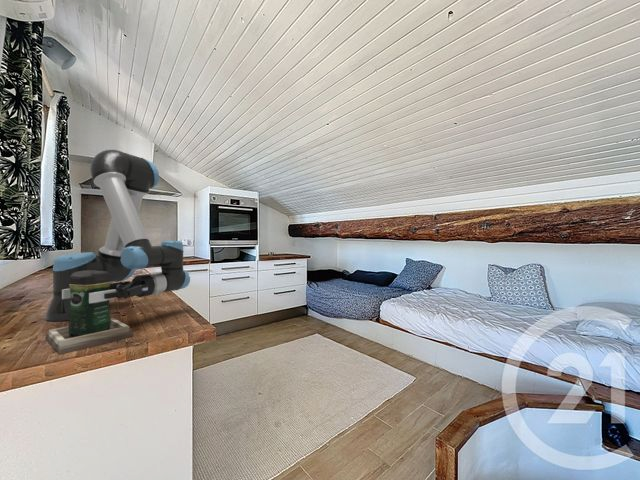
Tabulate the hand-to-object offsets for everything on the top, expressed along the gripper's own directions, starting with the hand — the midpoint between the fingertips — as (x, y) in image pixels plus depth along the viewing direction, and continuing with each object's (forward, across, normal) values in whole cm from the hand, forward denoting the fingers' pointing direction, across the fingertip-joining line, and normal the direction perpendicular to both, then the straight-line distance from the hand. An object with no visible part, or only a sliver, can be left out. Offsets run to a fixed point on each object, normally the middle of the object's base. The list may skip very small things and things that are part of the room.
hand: (75, 296), depth 77 cm
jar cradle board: (-4, 0, -13) cm, 13 cm away
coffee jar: (-3, 0, -12) cm, 12 cm away
